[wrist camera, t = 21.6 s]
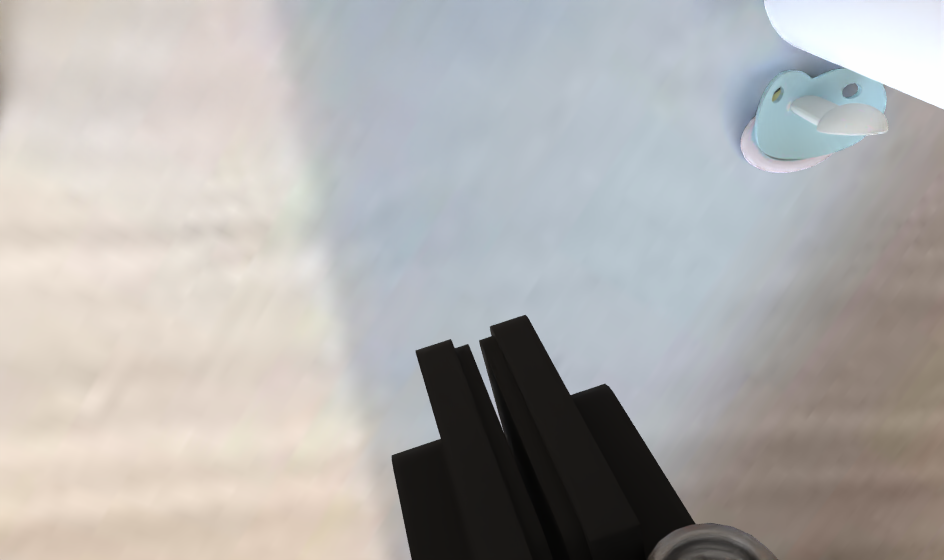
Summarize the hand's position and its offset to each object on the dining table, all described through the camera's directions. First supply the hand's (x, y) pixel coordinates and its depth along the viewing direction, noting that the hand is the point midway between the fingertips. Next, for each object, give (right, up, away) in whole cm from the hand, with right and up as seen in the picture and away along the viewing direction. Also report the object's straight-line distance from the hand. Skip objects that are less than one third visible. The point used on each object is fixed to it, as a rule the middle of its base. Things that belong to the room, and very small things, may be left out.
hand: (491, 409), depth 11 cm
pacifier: (+17, +11, +31) cm, 37 cm away
